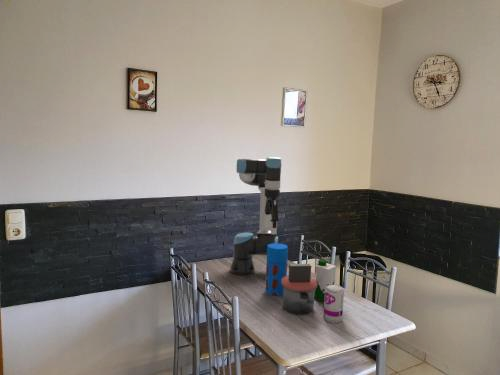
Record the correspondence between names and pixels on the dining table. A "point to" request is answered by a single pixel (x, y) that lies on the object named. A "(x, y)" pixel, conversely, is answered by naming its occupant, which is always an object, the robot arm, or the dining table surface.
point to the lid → (299, 278)
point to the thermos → (276, 268)
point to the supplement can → (333, 303)
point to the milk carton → (323, 278)
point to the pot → (298, 301)
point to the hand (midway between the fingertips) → (270, 230)
